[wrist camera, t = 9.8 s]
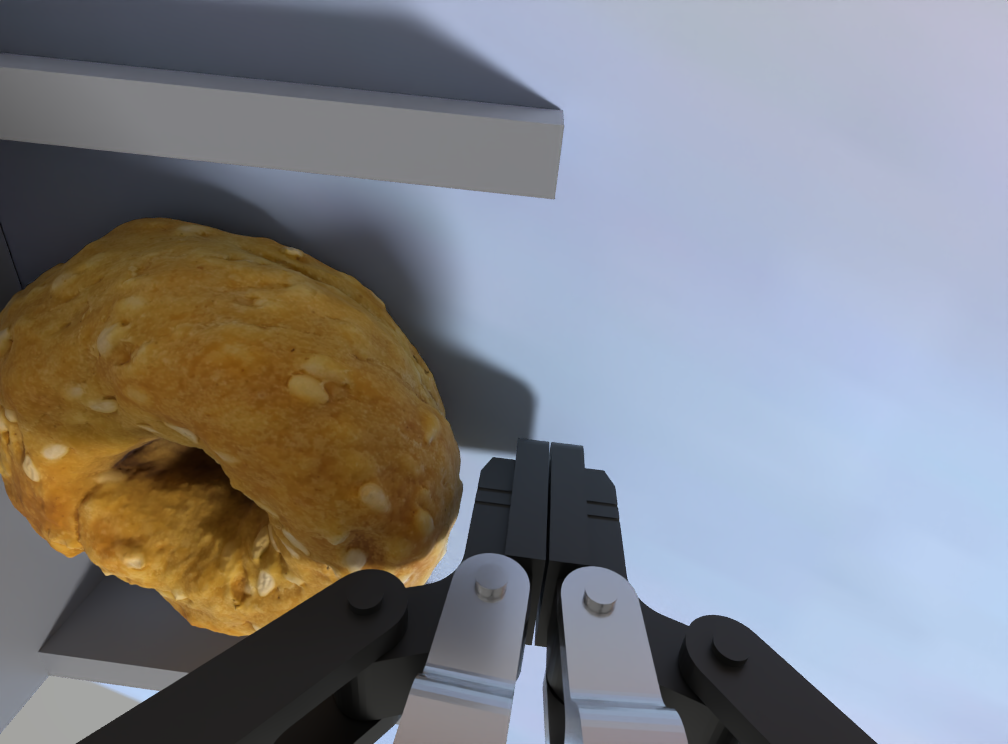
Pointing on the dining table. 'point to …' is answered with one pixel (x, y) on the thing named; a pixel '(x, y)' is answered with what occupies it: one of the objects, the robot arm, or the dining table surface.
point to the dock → (230, 140)
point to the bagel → (222, 423)
